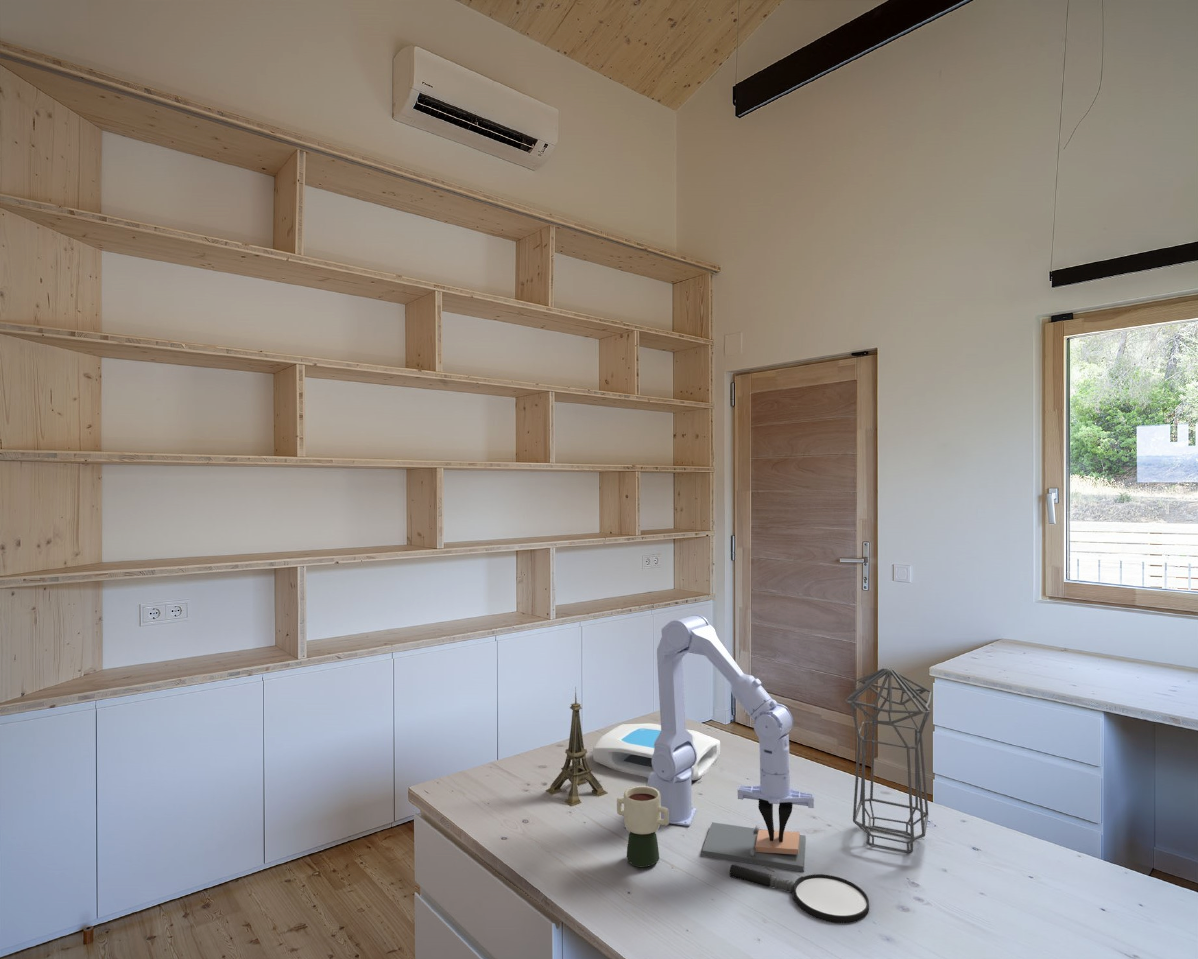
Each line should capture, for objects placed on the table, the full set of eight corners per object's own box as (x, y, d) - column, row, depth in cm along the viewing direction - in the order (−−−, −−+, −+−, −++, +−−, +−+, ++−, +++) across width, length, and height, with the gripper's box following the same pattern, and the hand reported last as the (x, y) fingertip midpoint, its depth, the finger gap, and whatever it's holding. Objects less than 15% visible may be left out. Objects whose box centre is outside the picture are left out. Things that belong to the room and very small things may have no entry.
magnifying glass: (741, 860, 131) (741, 849, 132) (873, 896, 120) (873, 884, 120) (720, 893, 121) (720, 881, 121) (863, 937, 109) (863, 923, 109)
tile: (797, 849, 129) (798, 854, 129) (799, 831, 136) (799, 837, 136) (755, 846, 132) (755, 852, 132) (758, 829, 138) (759, 834, 138)
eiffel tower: (571, 806, 154) (570, 696, 155) (545, 791, 162) (544, 686, 163) (607, 793, 161) (606, 687, 161) (580, 779, 169) (580, 678, 170)
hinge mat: (702, 855, 132) (702, 845, 133) (712, 826, 144) (711, 817, 144) (803, 871, 126) (803, 861, 126) (805, 840, 138) (805, 831, 138)
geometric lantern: (934, 831, 141) (933, 663, 141) (931, 871, 127) (929, 684, 127) (854, 814, 148) (852, 655, 148) (842, 849, 134) (841, 673, 134)
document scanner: (692, 787, 164) (692, 761, 164) (592, 766, 177) (591, 742, 178) (721, 757, 182) (720, 734, 182) (628, 740, 196) (627, 718, 196)
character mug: (676, 859, 131) (675, 791, 132) (662, 877, 125) (661, 806, 125) (625, 846, 136) (624, 781, 137) (609, 863, 130) (608, 795, 130)
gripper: (735, 772, 133) (736, 843, 132) (812, 781, 128) (814, 854, 128) (739, 759, 139) (740, 826, 139) (813, 767, 135) (815, 836, 134)
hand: (776, 838), depth 134 cm, fingers closed
